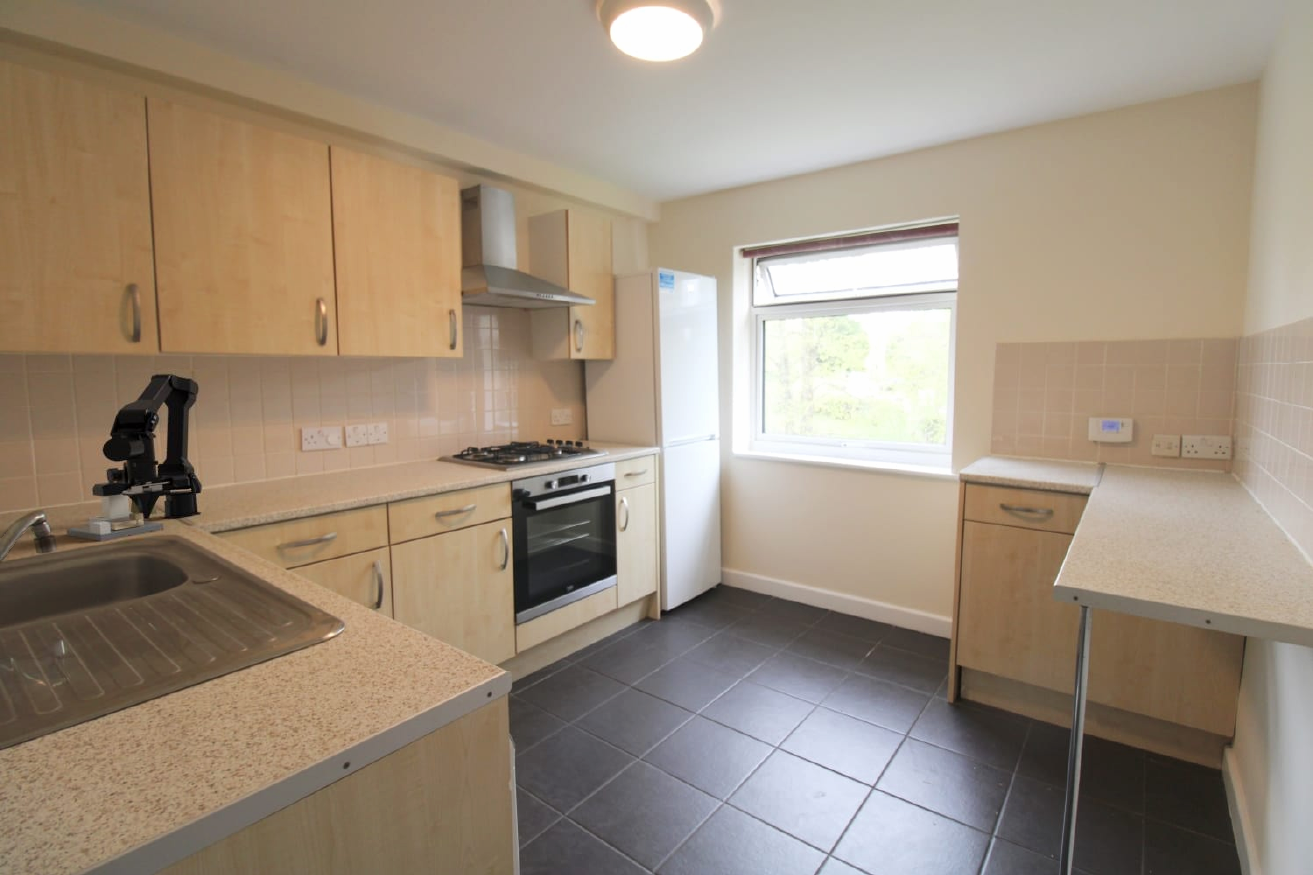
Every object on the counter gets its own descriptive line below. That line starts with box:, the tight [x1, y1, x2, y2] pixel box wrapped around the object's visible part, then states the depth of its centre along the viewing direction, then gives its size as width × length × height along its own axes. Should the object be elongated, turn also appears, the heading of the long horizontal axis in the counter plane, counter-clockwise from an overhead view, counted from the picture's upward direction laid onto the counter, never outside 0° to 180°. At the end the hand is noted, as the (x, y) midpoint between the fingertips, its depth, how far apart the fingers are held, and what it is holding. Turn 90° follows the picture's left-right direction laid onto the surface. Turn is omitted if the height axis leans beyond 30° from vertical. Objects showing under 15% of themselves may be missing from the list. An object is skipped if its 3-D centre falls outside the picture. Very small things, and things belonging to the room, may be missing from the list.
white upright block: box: [100, 491, 130, 519], centre depth 162 cm, size 4×4×9 cm
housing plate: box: [65, 511, 165, 542], centre depth 159 cm, size 13×17×4 cm
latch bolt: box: [110, 512, 145, 530], centre depth 156 cm, size 6×3×3 cm, turn 154°
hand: (145, 518), depth 160 cm, fingers closed
